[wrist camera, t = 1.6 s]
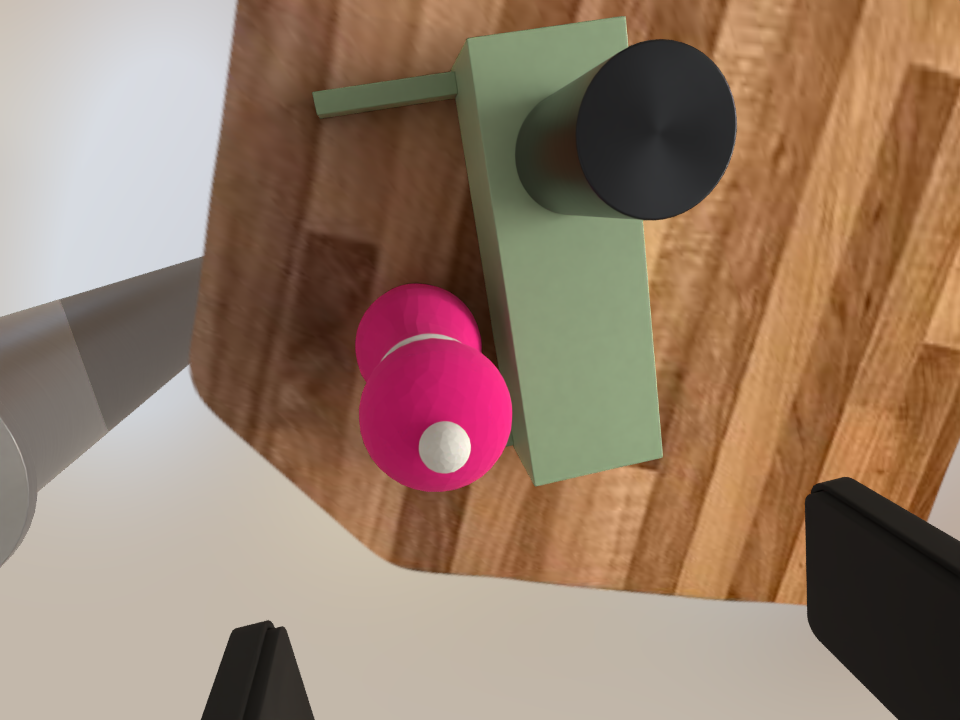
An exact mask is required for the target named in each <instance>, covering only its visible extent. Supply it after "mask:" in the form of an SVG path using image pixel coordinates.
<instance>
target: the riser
mask: <svg viewBox="0 0 960 720" xmlns="http://www.w3.org/2000/svg"><path fill="white" fill-rule="evenodd" d="M627 47H628V39H627V28H626V17H625V16H621V17H614V18H606V19H599V20H592V21H585V22H578V23H571V24H564V25H557V26H550V27H543V28H536V29H529V30H522V31H515V32H508V33H501V34H494V35H487V36H480V37H473V38H467V39H466V41H465V43H464V45H463V47H462V49H461V51H460V53H459V55H458V57H457V59H456V61H455V63H454V64H453V66H452V68H451V72H445V73H438V74H431V75H425V76H418V77H411V78H404V79H398V80H391V81H384V82H377V83H370V84H364V85H357V86H350V87H343V88H337V89H330V90H323V91H316V92H312V94H313V99H314V103H315V108H316V112H317V115H318V116H319V118H320V119H322V118H329V117H335V116H342V115H348V114H355V113H361V112H368V111H374V110H381V109H388V108H394V107H401V106H407V105H414V104H420V103H427V102H433V101H440V100H447V99H453V98H455V100H456V106H457V112H458V119H459V125H460V131H461V137H462V144H463V150H464V156H465V162H466V168H467V175H468V181H469V187H470V193H471V199H472V206H473V212H474V218H475V224H476V230H477V237H478V243H479V249H480V255H481V262H482V268H483V274H484V280H485V286H486V293H487V299H488V305H489V311H490V317H491V324H492V330H493V336H494V342H495V348H496V355H497V361H498V367H499V372H500V374H501V375H502V377H503V379H504V381H505V383H506V386H507V388H508V391H509V394H510V398H511V403H512V424H511V431H510V435H509V438H508V441H507V444H506V446H505V447H507V446H511V445H513V447H514V449H515V450H516V452H517V454H518V456H519V458H520V460H521V462H522V463H523V465H524V467H525V469H526V471H527V473H528V475H529V476H530V478H531V480H532V482H533V484H534V486H539V485H544V484H548V483H553V482H557V481H561V480H566V479H570V478H575V477H579V476H583V475H588V474H592V473H597V472H601V471H605V470H610V469H614V468H619V467H623V466H627V465H632V464H636V463H641V462H645V461H649V460H654V459H658V458H662V457H663V454H662V442H661V430H660V418H659V406H658V395H657V383H656V371H655V359H654V347H653V335H652V324H651V312H650V300H649V288H648V276H647V264H646V253H645V241H644V229H643V220H635V219H621V218H606V217H591V216H577V215H564V214H558V213H555V212H552V211H549V210H547V209H545V208H544V207H542V206H541V205H539V204H538V203H537V202H535V201H534V200H533V199H532V198H531V197H530V195H529V194H528V193H527V192H526V190H525V188H524V187H523V185H522V183H521V181H520V179H519V176H518V173H517V168H516V162H515V147H516V141H517V137H518V133H519V130H520V128H521V126H522V124H523V122H524V120H525V119H526V117H527V115H528V114H529V113H530V112H531V110H532V109H533V108H534V107H535V106H536V105H537V104H539V103H540V102H541V101H543V100H544V99H546V98H547V97H549V96H550V95H552V94H554V93H555V92H557V91H558V90H560V89H561V88H563V87H565V86H566V85H568V84H569V83H571V82H572V81H574V80H576V79H577V78H579V77H580V76H582V75H584V74H585V73H587V72H588V71H590V70H591V69H593V68H595V67H596V66H598V65H599V64H601V63H602V62H604V61H606V60H607V59H609V58H610V57H612V56H614V55H615V54H617V53H618V52H620V51H622V50H624V49H625V48H627Z"/></svg>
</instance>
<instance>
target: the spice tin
mask: <svg viewBox="0 0 960 720" xmlns="http://www.w3.org/2000/svg"><path fill="white" fill-rule="evenodd" d="M736 132H737V117H736V108H735V103H734V99H733V95H732V93H731V90H730V87H729V85H728V83H727V81H726V79H725V77H724V75H723V74H722V72H721V71H720V69H719V68H718V67H717V66H716V65H715V63H714V62H713V61H712V60H711V59H710V58H708V57H707V56H706V55H705V54H704V53H702V52H701V51H699V50H697V49H696V48H694V47H692V46H690V45H687V44H685V43H682V42H678V41H674V40H666V39H656V40H648V41H643V42H639V43H637V44H634V45H631V46H629V47H627V48H625V49H624V50H622V51H620V52H618V53H617V54H615V55H614V56H612V57H610V58H609V59H607V60H606V61H604V62H602V63H601V64H599V65H598V66H596V67H595V68H593V69H591V70H590V71H588V72H587V73H585V74H584V75H582V76H580V77H579V78H577V79H576V80H574V81H572V82H571V83H569V84H568V85H566V86H565V87H563V88H561V89H560V90H558V91H557V92H555V93H554V94H552V95H550V96H549V97H547V98H546V99H544V100H543V101H541V102H540V103H539V104H537V105H536V106H535V107H534V108H533V109H532V110H531V112H530V113H529V114H528V115H527V117H526V119H525V120H524V122H523V124H522V126H521V128H520V130H519V133H518V137H517V141H516V147H515V162H516V168H517V173H518V176H519V179H520V181H521V183H522V185H523V187H524V188H525V190H526V192H527V193H528V194H529V195H530V197H531V198H532V199H533V200H534V201H535V202H537V203H538V204H539V205H541V206H542V207H544V208H545V209H547V210H549V211H552V212H555V213H558V214H564V215H577V216H591V217H606V218H621V219H635V220H662V219H667V218H671V217H674V216H677V215H679V214H682V213H684V212H686V211H688V210H689V209H691V208H693V207H694V206H696V205H697V204H698V203H700V202H701V201H702V200H703V199H704V198H705V197H706V196H708V195H709V194H710V192H711V191H712V190H713V189H714V188H715V186H716V185H717V184H718V182H719V181H720V179H721V178H722V176H723V175H724V173H725V171H726V169H727V167H728V164H729V162H730V159H731V156H732V153H733V149H734V145H735V140H736Z"/></svg>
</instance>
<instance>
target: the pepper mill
mask: <svg viewBox="0 0 960 720" xmlns="http://www.w3.org/2000/svg"><path fill="white" fill-rule="evenodd" d="M355 351H356V357H357V362H358V366H359V369H360V372H361V375H362V377H363V378H364V380H365V381H366V385H365V387H364V389H363V392H362V396H361V401H360V406H359V423H360V432H361V435H362V439H363V442H364V445H365V447H366V449H367V451H368V453H369V455H370V457H371V458H372V460H373V461H374V462H375V463H376V465H377V466H378V467H379V468H380V469H381V470H382V471H383V472H385V473H386V474H387V475H388V476H389V477H391V478H392V479H394V480H395V481H397V482H399V483H400V484H402V485H405V486H407V487H410V488H413V489H416V490H422V491H427V492H442V491H449V490H455V489H458V488H461V487H463V486H466V485H469V484H471V483H472V482H474V481H476V480H477V479H479V478H480V477H482V476H483V475H484V474H485V473H486V472H487V471H488V470H490V469H491V467H492V466H493V465H494V464H495V462H496V461H497V460H498V458H499V457H500V456H501V454H502V452H503V450H504V448H505V446H506V444H507V441H508V438H509V435H510V431H511V424H512V403H511V398H510V394H509V391H508V388H507V386H506V383H505V381H504V379H503V377H502V375H501V374H500V372H499V370H498V369H497V368H496V367H495V366H494V364H493V363H492V362H491V361H490V360H489V359H488V358H487V357H485V356H484V355H483V354H482V353H481V352H482V343H481V336H480V332H479V329H478V325H477V323H476V321H475V319H474V317H473V315H472V313H471V312H470V310H469V309H468V307H467V306H466V305H465V304H464V303H463V302H462V301H461V300H460V299H459V298H458V297H456V296H455V295H453V294H452V293H450V292H449V291H446V290H444V289H442V288H440V287H436V286H432V285H428V284H416V283H414V284H406V285H401V286H398V287H395V288H393V289H391V290H390V291H388V292H386V293H385V294H383V295H382V296H380V297H379V298H378V299H377V300H376V301H375V302H373V303H372V304H371V305H370V307H369V308H368V309H367V311H366V312H365V314H364V315H363V317H362V319H361V321H360V324H359V326H358V329H357V334H356V340H355Z"/></svg>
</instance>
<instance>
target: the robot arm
mask: <svg viewBox="0 0 960 720" xmlns="http://www.w3.org/2000/svg"><path fill="white" fill-rule="evenodd" d="M805 526H806V574H807V617H808V622H809V625H810V627H811V630H812V632H813V633H814V635H815V636H816V637H817V639H818V640H819V641H820V642H821V643H822V644H823V645H824V646H825V647H826V648H827V649H828V650H829V651H830V652H831V653H832V654H833V655H834V656H835V657H836V658H837V659H838V660H839V661H840V662H841V663H842V664H843V665H844V666H845V667H846V668H847V669H848V670H849V671H850V672H851V673H852V674H853V675H854V676H855V677H856V678H857V679H858V680H859V681H860V682H861V683H862V684H863V685H864V686H865V687H866V688H867V689H868V690H869V691H870V692H871V693H872V694H873V695H874V696H875V697H876V698H877V699H878V700H879V701H880V702H881V703H882V704H883V705H884V706H885V707H886V708H887V709H888V710H889V711H890V712H891V713H892V714H893V715H894V716H895V717H896V718H897V719H898V720H960V541H958V540H957V539H955V538H953V537H951V536H950V535H948V534H946V533H945V532H943V531H941V530H939V529H938V528H936V527H934V526H932V525H931V524H929V523H927V522H926V521H924V520H922V519H921V518H919V517H917V516H916V515H914V514H912V513H910V512H909V511H907V510H905V509H904V508H902V507H900V506H898V505H897V504H895V503H893V502H892V501H890V500H888V499H886V498H885V497H883V496H881V495H880V494H878V493H876V492H875V491H873V490H871V489H869V488H868V487H866V486H864V485H863V484H861V483H859V482H857V481H856V480H854V479H852V478H849V477H842V478H838V479H834V480H830V481H826V482H822V483H818V484H816V485H814V486H813V488H812V490H811V494H809V495H808V496H807V497H806V499H805ZM201 720H315V719H314V716H313V713H312V710H311V707H310V704H309V701H308V697H307V694H306V691H305V688H304V684H303V681H302V678H301V675H300V672H299V669H298V665H297V662H296V659H295V656H294V652H293V649H292V646H291V643H290V640H289V637H288V634H287V631H286V629H285V627H283V626H282V627H278V628H275V627H274V625H273V623H272V622H271V621H269V620H268V621H264V622H260V623H256V624H251V625H247V626H244V627H240V628H236V629H234V630H233V631H232V633H231V635H230V638H229V641H228V643H227V646H226V649H225V652H224V655H223V658H222V661H221V664H220V666H219V669H218V672H217V675H216V678H215V681H214V683H213V687H212V689H211V692H210V695H209V698H208V701H207V704H206V707H205V710H204V712H203V715H202V718H201Z"/></svg>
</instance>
